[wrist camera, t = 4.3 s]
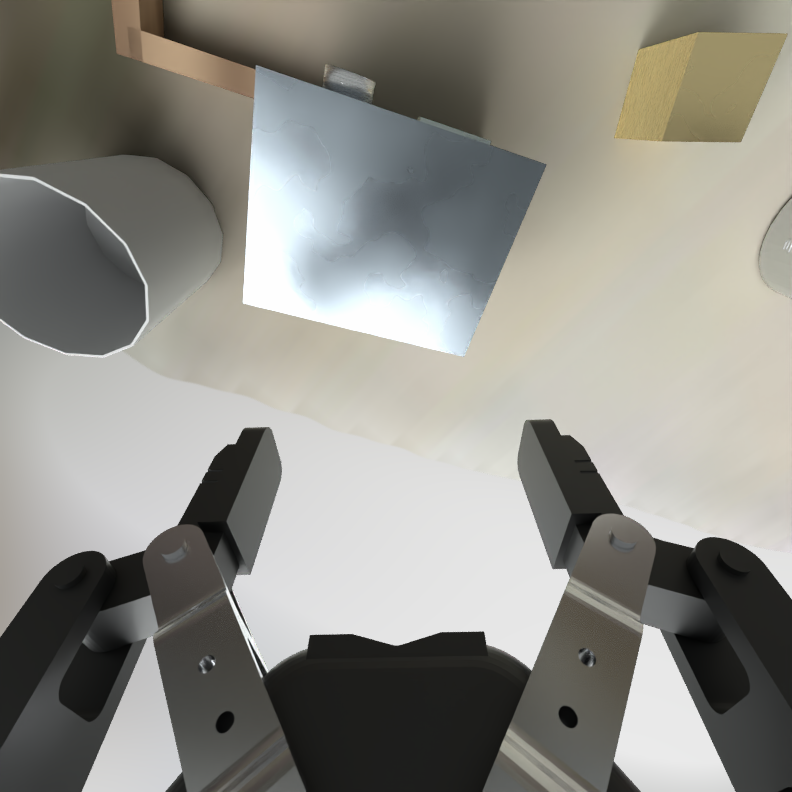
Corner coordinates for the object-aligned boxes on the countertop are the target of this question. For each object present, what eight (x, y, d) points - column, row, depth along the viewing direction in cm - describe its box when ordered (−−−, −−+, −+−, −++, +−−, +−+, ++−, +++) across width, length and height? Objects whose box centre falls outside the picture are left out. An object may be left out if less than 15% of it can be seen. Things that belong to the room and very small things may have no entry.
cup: (61, 207, 25) (-97, 249, 17) (142, 121, 23) (2, 122, 14) (170, 310, 29) (85, 383, 21) (249, 247, 27) (187, 303, 19)
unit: (486, 131, 23) (557, 138, 13) (435, 280, 28) (460, 364, 18) (317, 72, 21) (257, 31, 12) (296, 242, 27) (242, 312, 17)
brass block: (711, 50, 21) (788, 33, 17) (679, 138, 24) (740, 142, 19) (638, 49, 21) (698, 32, 17) (613, 138, 23) (661, 141, 19)
